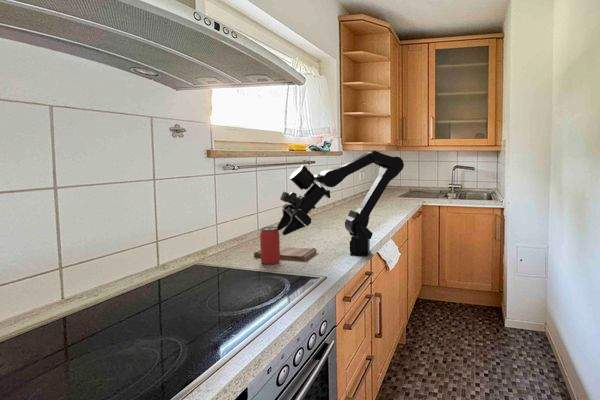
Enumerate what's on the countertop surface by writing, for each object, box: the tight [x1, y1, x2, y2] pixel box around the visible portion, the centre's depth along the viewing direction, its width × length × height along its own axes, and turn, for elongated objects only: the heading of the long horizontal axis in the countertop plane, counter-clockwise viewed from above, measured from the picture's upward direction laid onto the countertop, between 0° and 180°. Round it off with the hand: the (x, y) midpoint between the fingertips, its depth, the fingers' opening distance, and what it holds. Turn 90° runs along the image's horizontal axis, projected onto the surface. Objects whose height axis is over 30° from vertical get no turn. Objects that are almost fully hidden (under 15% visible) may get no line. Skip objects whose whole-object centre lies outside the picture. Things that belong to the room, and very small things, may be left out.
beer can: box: [259, 226, 281, 265], centre depth 145 cm, size 7×7×12 cm
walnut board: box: [253, 246, 318, 262], centre depth 155 cm, size 20×12×2 cm, turn 69°
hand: (279, 232), depth 145 cm, fingers open, 9 cm apart
